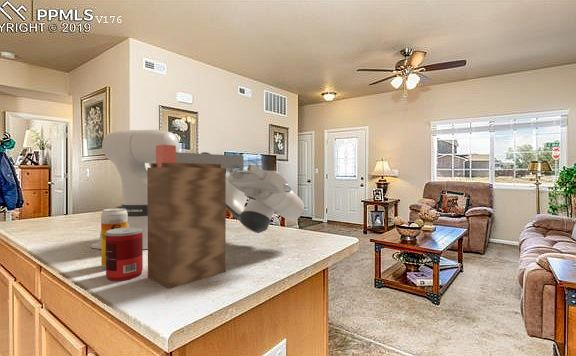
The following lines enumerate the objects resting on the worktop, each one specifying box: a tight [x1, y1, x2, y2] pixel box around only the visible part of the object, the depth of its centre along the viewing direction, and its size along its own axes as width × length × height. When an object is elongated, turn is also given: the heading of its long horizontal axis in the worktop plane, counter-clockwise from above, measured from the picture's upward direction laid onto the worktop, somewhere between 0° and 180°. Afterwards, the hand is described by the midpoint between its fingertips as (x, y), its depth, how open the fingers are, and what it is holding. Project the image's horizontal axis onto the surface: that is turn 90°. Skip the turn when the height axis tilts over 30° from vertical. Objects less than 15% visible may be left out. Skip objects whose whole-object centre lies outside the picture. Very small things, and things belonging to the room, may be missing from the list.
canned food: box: [105, 227, 144, 282], centre depth 73 cm, size 8×8×11 cm
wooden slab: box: [146, 163, 227, 289], centre depth 74 cm, size 15×10×27 cm, turn 138°
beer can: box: [100, 208, 128, 269], centre depth 81 cm, size 6×6×15 cm
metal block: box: [156, 145, 244, 170], centre depth 77 cm, size 23×4×5 cm, turn 138°
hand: (238, 167), depth 85 cm, fingers open, 8 cm apart
